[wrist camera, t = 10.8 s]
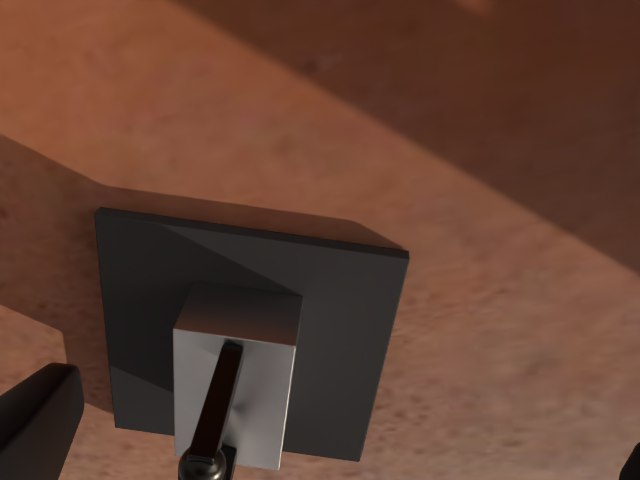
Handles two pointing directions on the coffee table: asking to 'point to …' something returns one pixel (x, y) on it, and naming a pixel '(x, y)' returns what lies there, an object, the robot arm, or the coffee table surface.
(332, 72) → the coffee table surface
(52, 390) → the robot arm
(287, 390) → the silver handled block
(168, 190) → the coffee table surface
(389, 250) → the mat
